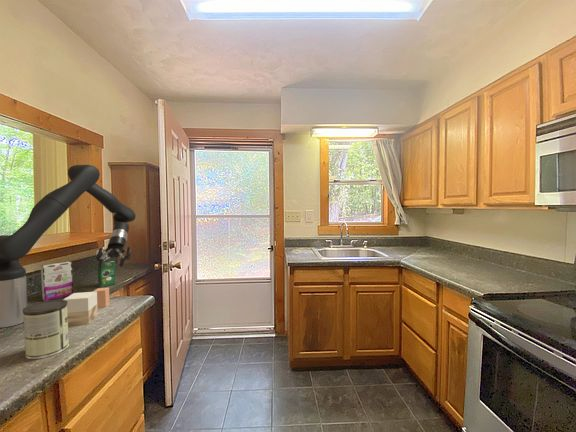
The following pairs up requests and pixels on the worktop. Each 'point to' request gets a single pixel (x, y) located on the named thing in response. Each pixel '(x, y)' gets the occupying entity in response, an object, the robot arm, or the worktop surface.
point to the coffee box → (106, 274)
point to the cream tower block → (81, 301)
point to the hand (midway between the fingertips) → (110, 266)
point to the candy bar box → (56, 280)
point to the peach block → (102, 297)
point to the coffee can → (45, 328)
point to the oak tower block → (82, 316)
